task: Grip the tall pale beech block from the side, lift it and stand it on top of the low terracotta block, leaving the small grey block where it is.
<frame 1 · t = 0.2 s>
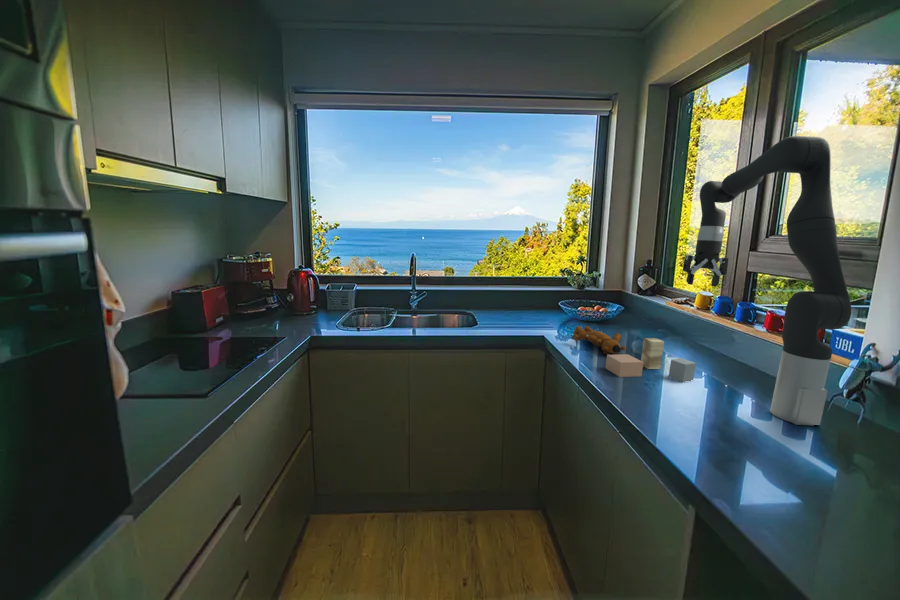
hand: (702, 285, 142), 28 cm above the countertop, tool pointing down, fingers open, 8 cm apart
beech pillar: (650, 367, 138), on the countertop
grey block: (680, 379, 128), on the countertop
toy: (597, 347, 160), on the countertop
terracotta block: (622, 372, 132), on the countertop
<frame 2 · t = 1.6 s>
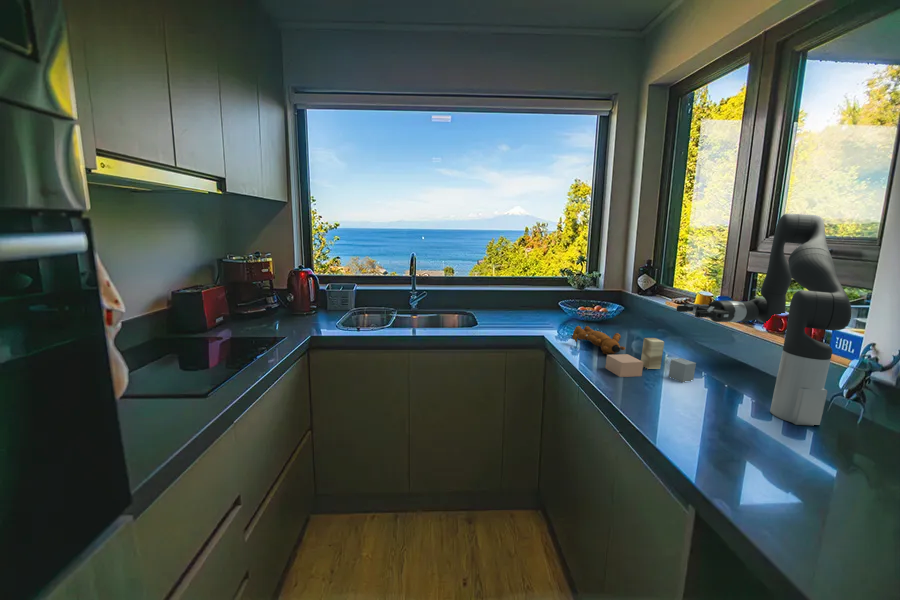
hand: (686, 311, 136), 20 cm above the countertop, tool horizontal, fingers open, 8 cm apart
nothing on the countertop moved.
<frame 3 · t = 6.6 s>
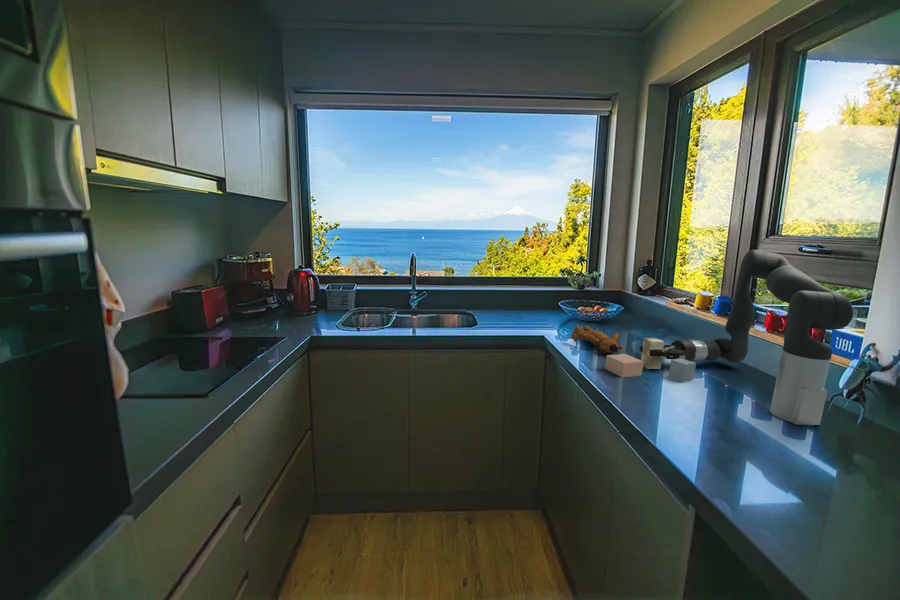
hand: (645, 350, 136), 6 cm above the countertop, tool horizontal, fingers closed on beech pillar, 4 cm apart
beech pillar: (650, 367, 138), on the countertop, touching gripper
when the fingers open (12 cm above the countertop, at t = 11.7 s): beech pillar drops 1 cm, resting on terracotta block.
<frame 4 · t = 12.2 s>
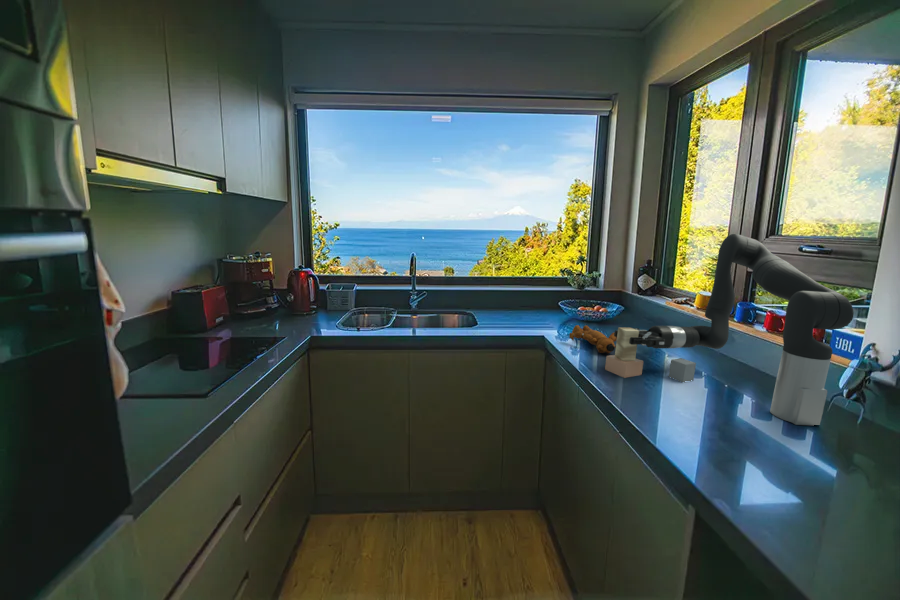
hand: (622, 337, 129), 12 cm above the countertop, tool horizontal, fingers open, 8 cm apart
beech pillar: (624, 358, 131), point 5 cm above the countertop, touching terracotta block
terracotta block: (622, 372, 132), on the countertop, touching beech pillar
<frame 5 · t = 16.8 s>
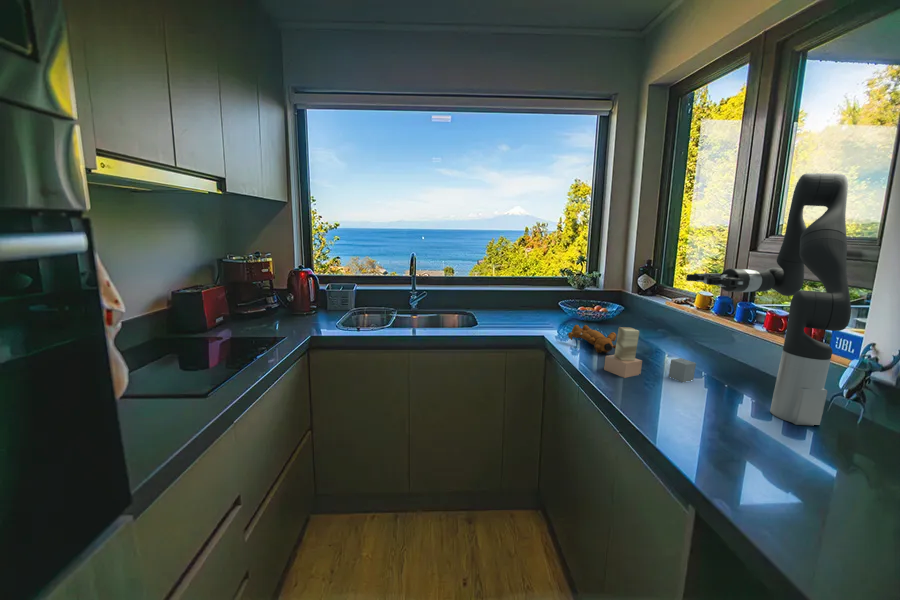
hand: (697, 279, 127), 32 cm above the countertop, tool horizontal, fingers open, 8 cm apart
at the end: beech pillar 0.2 cm off-centre on the terracotta block, point 5.1 cm above the terracotta block's base; beech pillar tilted 2°; the gripper is holding nothing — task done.
